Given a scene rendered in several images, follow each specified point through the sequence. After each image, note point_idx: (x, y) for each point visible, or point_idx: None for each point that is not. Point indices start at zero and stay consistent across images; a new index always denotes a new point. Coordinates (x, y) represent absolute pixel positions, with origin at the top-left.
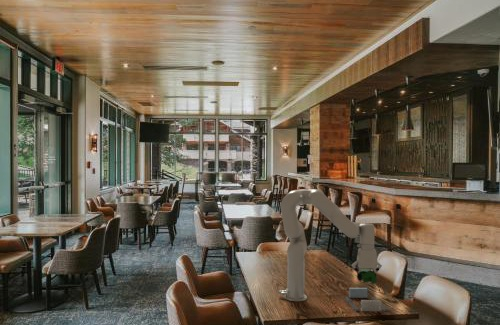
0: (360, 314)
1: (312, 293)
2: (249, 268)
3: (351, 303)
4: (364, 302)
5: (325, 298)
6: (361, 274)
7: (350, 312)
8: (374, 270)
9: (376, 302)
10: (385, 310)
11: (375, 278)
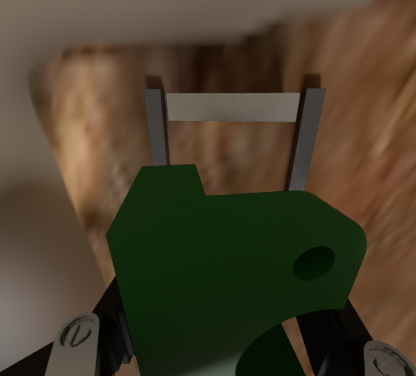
0: (318, 34)
1: (389, 317)
2: None
3: (303, 180)
4: (280, 93)
5: (370, 267)
6: (266, 345)
7: (361, 71)
8: (81, 369)
9: (199, 93)
10: (158, 89)
11: (141, 180)
